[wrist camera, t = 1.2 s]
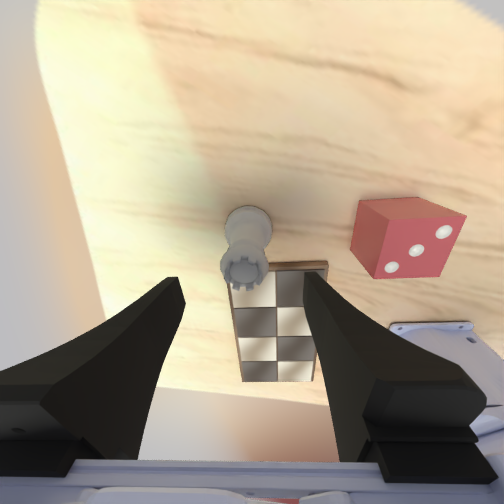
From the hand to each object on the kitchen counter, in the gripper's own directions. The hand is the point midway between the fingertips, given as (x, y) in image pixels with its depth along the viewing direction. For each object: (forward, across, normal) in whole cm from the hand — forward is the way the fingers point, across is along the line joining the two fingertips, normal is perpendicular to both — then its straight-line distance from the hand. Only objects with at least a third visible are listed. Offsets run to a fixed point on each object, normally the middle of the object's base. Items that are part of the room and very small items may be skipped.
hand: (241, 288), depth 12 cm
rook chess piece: (+9, 0, 0) cm, 9 cm away
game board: (+9, -2, +14) cm, 17 cm away
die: (+9, -12, 0) cm, 16 cm away
